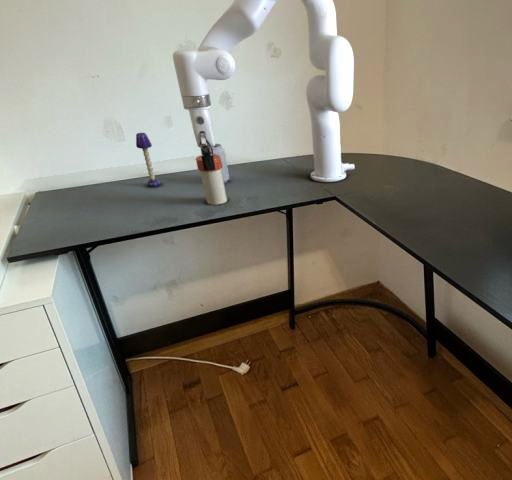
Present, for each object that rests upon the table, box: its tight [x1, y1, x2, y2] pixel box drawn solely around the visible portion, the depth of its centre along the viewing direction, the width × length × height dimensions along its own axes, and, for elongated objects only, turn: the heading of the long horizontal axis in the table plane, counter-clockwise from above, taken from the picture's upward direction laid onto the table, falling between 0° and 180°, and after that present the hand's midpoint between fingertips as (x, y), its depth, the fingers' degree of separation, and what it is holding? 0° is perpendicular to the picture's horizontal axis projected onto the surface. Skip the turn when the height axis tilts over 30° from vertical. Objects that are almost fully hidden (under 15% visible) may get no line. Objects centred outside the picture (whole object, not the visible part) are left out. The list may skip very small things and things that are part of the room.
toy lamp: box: [135, 132, 162, 188], centre depth 155 cm, size 5×5×17 cm
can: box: [210, 143, 230, 184], centre depth 160 cm, size 8×8×12 cm
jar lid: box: [195, 154, 222, 172], centre depth 140 cm, size 7×7×3 cm
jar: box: [199, 169, 228, 206], centre depth 144 cm, size 6×6×13 cm
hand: (209, 165), depth 141 cm, fingers open, 8 cm apart
